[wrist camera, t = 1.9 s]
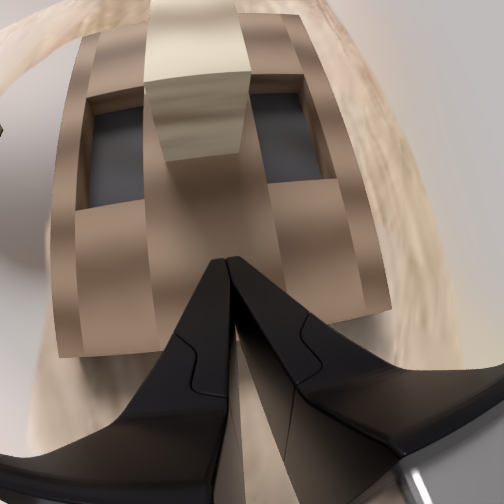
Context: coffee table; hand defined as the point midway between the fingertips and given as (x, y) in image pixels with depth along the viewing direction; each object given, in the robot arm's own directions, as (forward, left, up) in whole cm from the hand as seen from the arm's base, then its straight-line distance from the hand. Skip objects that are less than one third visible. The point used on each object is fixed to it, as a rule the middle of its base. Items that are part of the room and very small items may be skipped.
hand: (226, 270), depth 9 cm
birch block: (+11, -9, -10) cm, 17 cm away
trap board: (+9, -7, -13) cm, 17 cm away
